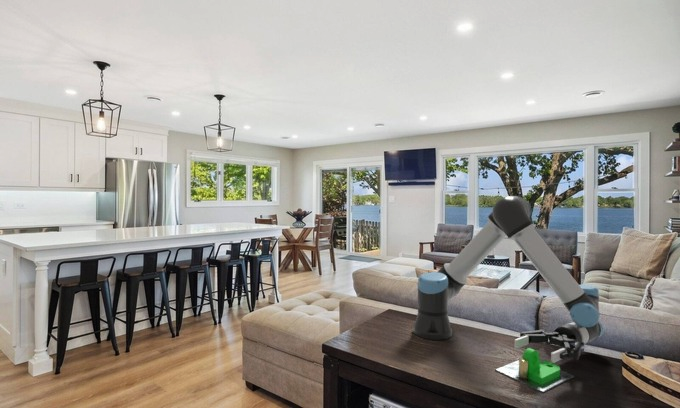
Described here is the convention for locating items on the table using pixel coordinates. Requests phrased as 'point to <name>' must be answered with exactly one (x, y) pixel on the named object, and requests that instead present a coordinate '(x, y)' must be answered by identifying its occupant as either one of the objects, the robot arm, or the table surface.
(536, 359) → the mechanical part
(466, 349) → the table surface
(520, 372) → the bolt plate
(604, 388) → the table surface
